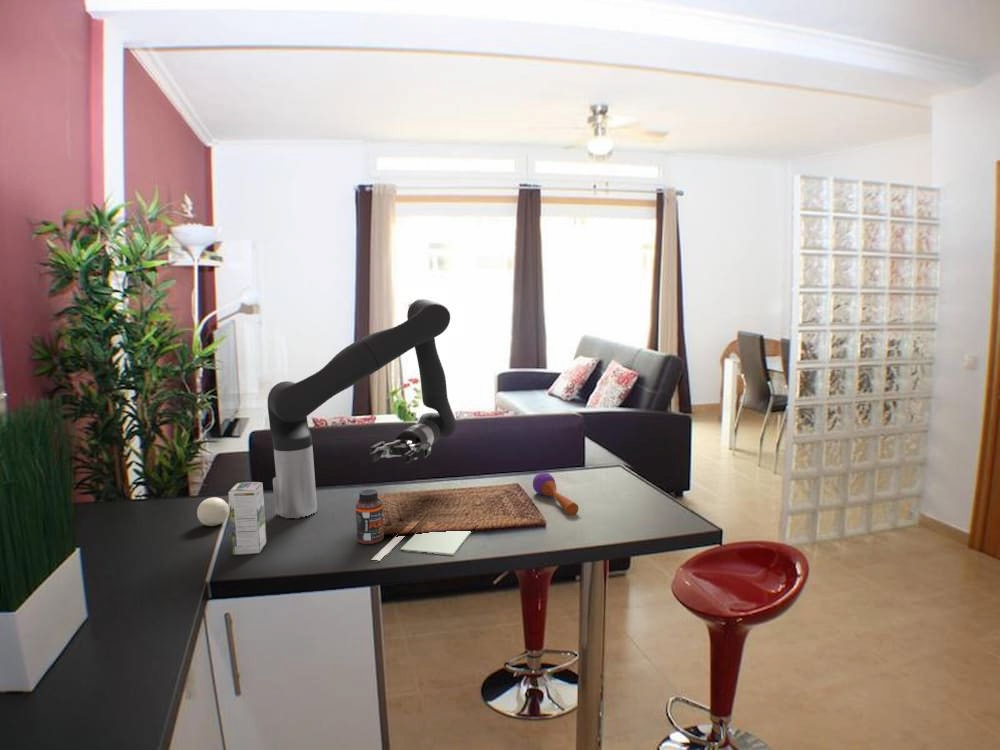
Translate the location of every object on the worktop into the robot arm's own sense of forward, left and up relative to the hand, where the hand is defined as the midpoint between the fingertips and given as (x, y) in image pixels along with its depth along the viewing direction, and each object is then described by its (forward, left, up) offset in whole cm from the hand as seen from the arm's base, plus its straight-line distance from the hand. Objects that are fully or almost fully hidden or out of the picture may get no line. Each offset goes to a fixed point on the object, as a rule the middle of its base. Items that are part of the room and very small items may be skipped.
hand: (388, 458), depth 156 cm
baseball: (-42, -10, -16) cm, 46 cm away
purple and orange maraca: (+36, +21, -16) cm, 45 cm away
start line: (+6, -10, -16) cm, 20 cm away
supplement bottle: (0, -11, -16) cm, 19 cm away
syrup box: (-24, -21, -16) cm, 36 cm away
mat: (+15, -7, -16) cm, 23 cm away
